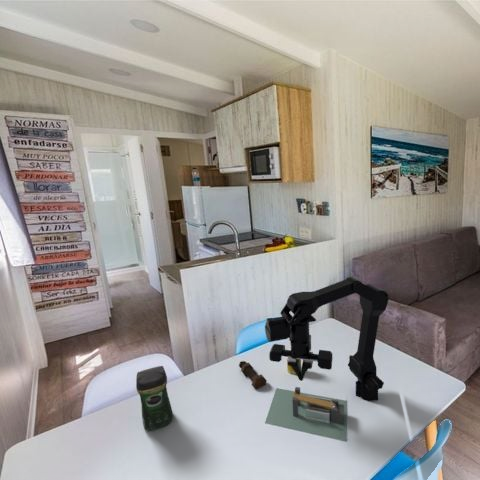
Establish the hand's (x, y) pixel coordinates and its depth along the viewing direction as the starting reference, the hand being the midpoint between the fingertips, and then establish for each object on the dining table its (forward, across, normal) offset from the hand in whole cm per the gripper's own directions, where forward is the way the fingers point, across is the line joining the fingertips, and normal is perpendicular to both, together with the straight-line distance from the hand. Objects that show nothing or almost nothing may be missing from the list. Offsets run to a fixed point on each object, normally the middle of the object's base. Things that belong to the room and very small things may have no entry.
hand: (301, 379), depth 92 cm
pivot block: (+11, -10, 0) cm, 15 cm away
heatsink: (+11, -5, 0) cm, 12 cm away
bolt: (+13, +21, -12) cm, 28 cm away
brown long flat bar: (+8, -4, 0) cm, 8 cm away
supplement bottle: (+13, +6, -20) cm, 24 cm away
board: (+12, -2, 0) cm, 12 cm away
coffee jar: (+13, +45, +16) cm, 49 cm away
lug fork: (+11, +2, 0) cm, 11 cm away
